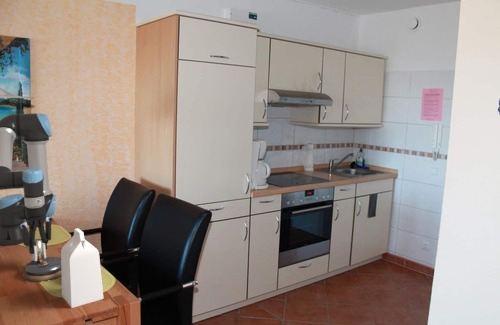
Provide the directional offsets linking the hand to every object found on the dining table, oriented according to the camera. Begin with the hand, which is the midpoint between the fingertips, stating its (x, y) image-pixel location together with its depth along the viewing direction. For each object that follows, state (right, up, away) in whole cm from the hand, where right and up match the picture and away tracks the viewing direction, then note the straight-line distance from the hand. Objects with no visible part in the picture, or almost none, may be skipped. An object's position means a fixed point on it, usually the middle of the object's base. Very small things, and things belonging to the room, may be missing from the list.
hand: (39, 258), depth 183 cm
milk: (+28, -10, -23) cm, 37 cm away
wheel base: (+4, -6, -3) cm, 7 cm away
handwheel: (+4, -3, -3) cm, 6 cm away
